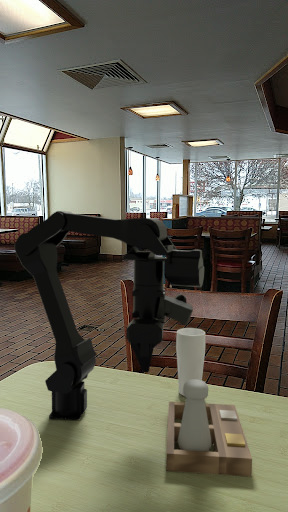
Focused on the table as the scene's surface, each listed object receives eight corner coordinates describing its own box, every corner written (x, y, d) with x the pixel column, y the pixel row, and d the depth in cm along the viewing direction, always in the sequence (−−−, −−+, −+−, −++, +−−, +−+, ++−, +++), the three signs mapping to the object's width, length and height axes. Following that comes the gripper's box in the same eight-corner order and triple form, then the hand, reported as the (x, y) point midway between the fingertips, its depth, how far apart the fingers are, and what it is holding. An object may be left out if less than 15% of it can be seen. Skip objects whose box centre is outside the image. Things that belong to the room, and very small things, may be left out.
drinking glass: (185, 402, 85) (187, 337, 84) (170, 390, 91) (171, 329, 90) (209, 396, 88) (211, 333, 87) (193, 385, 94) (194, 326, 93)
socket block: (166, 470, 61) (166, 451, 61) (168, 415, 79) (168, 399, 79) (251, 476, 60) (252, 456, 60) (234, 418, 78) (234, 403, 78)
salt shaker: (210, 467, 62) (212, 391, 61) (175, 462, 63) (177, 387, 62) (211, 447, 68) (213, 377, 67) (180, 442, 69) (181, 374, 68)
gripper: (193, 293, 62) (191, 385, 63) (189, 278, 81) (187, 349, 82) (126, 292, 63) (125, 382, 64) (137, 276, 82) (136, 347, 83)
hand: (147, 363), depth 73 cm, fingers open, 9 cm apart
